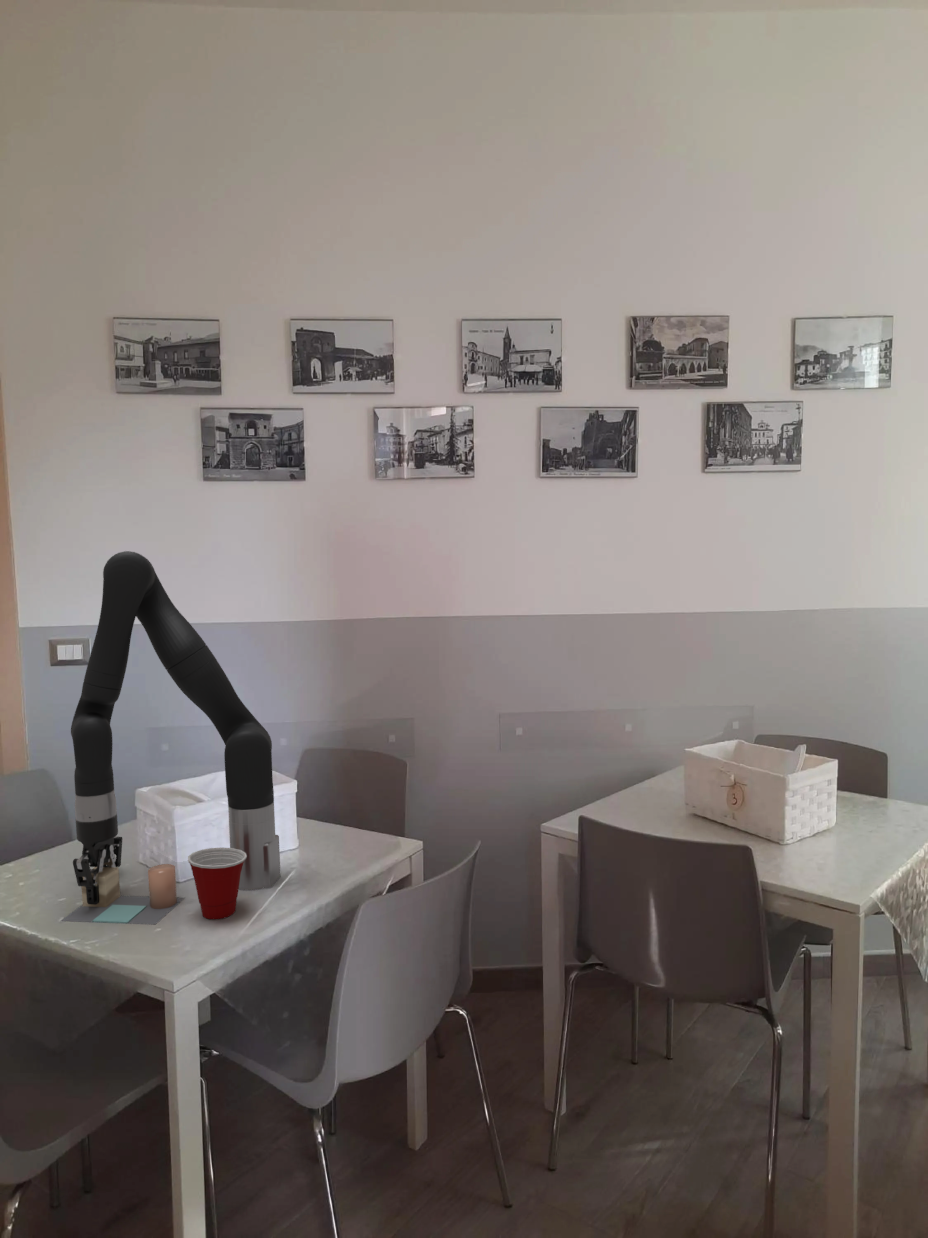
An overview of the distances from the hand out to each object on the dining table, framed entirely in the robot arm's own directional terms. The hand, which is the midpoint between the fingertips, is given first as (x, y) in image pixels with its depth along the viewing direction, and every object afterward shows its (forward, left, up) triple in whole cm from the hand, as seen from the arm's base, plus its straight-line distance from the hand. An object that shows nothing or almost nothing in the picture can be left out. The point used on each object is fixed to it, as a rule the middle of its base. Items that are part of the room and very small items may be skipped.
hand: (101, 897), depth 166 cm
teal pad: (-7, +6, -1) cm, 9 cm away
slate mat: (-7, +3, -1) cm, 7 cm away
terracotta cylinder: (-13, 0, -1) cm, 13 cm away
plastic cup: (-26, +3, -2) cm, 26 cm away
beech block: (0, 0, -1) cm, 1 cm away
